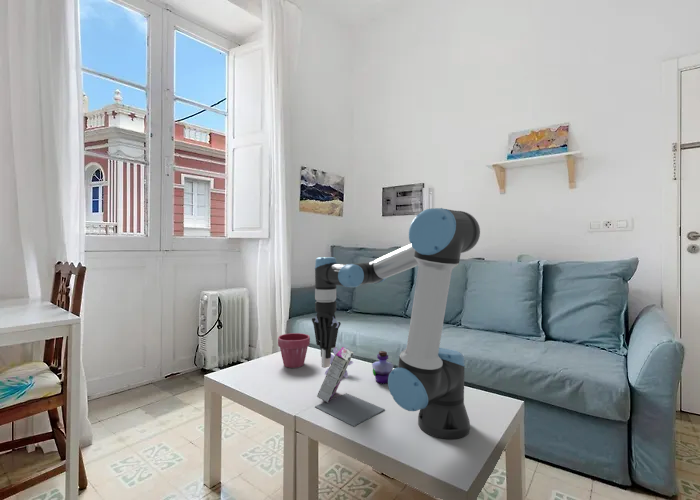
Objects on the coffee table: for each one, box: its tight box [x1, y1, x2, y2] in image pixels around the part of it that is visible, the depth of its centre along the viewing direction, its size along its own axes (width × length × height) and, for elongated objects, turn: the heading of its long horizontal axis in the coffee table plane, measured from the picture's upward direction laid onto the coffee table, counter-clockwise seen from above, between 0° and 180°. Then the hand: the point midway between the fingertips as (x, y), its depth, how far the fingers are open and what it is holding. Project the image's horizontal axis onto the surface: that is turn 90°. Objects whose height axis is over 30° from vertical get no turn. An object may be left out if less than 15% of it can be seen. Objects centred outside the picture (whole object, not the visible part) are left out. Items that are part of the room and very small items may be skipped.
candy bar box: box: [316, 346, 354, 403], centre depth 127 cm, size 11×5×16 cm, turn 168°
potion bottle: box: [371, 350, 394, 385], centre depth 142 cm, size 9×9×12 cm
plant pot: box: [277, 332, 311, 369], centre depth 162 cm, size 14×14×13 cm
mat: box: [314, 392, 386, 427], centre depth 119 cm, size 18×15×1 cm
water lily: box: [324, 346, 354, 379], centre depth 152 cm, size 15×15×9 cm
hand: (325, 366), depth 127 cm, fingers closed
